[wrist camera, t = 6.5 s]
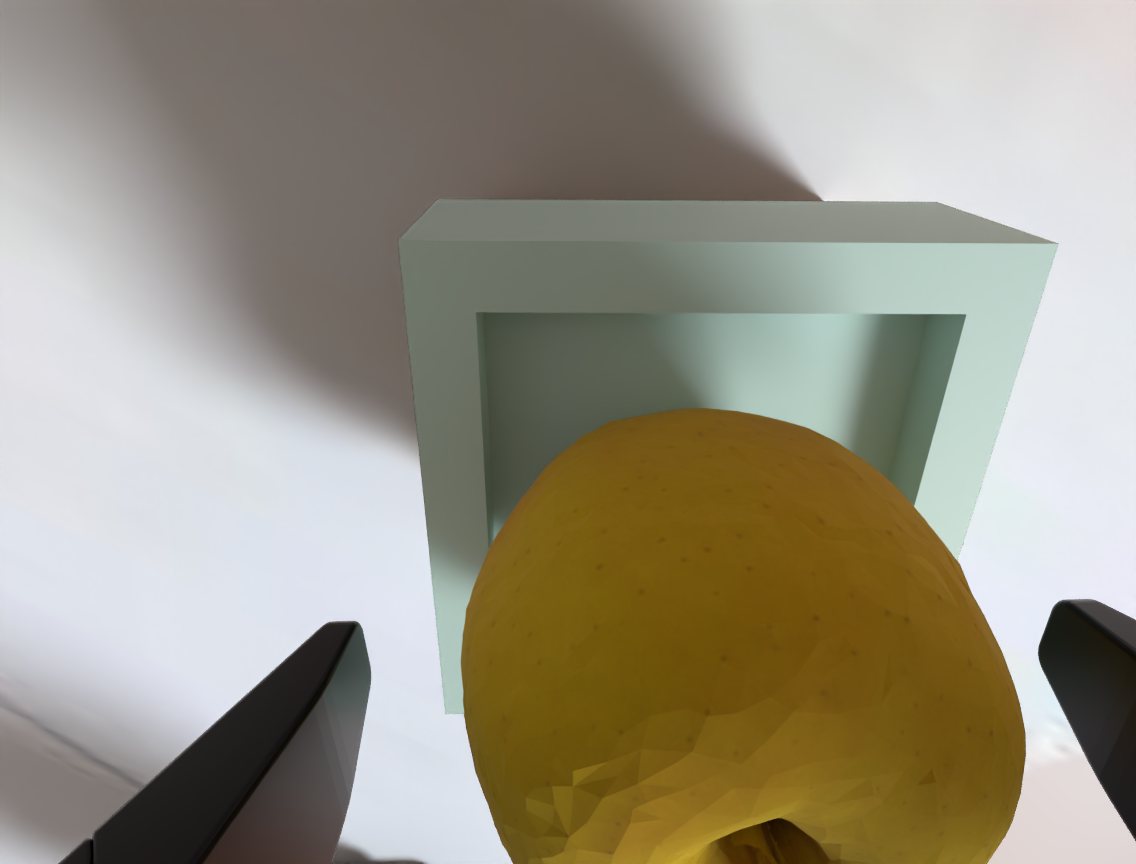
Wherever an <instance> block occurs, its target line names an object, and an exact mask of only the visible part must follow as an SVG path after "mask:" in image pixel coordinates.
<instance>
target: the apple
mask: <svg viewBox="0 0 1136 864" xmlns="http://www.w3.org/2000/svg"><path fill="white" fill-rule="evenodd" d="M462 636H463V641H462V650H461V662H460V663H461V674H462V684H463V706H464V717H465V723H466V729H467V734H468V739H469V743H470V748H471V752H472V757H473V762H474V767H475V771H476V774H477V777H478V780H479V782H480V785H481V788H482V790H483V793H484V796H485V798H486V801H487V803H488V805H489V809H490V812H491V815H492V818H493V821H494V825H495V827H496V829H497V831H498V834H499V837H500V839H501V842H502V845H503V846H504V847H505V849H506V850H507V852H508V854H509V856H510V858H511V860H512V862H513V864H987V863H988V861H989V860H990V858H991V857H992V855H993V854H994V852H995V851H996V849H997V848H998V846H999V845H1000V843H1001V842H1002V840H1003V839H1004V837H1005V836H1006V833H1007V831H1008V830H1009V828H1010V825H1011V823H1012V821H1013V817H1014V814H1015V811H1016V807H1017V804H1018V800H1019V797H1020V794H1021V787H1022V779H1023V772H1024V765H1025V757H1026V742H1025V728H1024V723H1023V718H1022V713H1021V708H1020V703H1019V699H1018V696H1017V693H1016V689H1015V686H1014V683H1013V680H1012V678H1011V675H1010V672H1009V670H1008V667H1007V664H1006V661H1005V659H1004V656H1003V653H1002V651H1001V649H1000V647H999V645H998V643H997V641H996V639H995V637H994V635H993V633H992V631H991V629H990V627H989V624H988V622H987V620H986V618H985V616H984V614H983V613H982V611H981V609H980V607H979V606H978V604H977V602H976V600H975V598H974V597H973V595H972V593H971V590H970V588H969V586H968V583H967V581H966V578H965V576H964V573H963V571H962V568H961V566H960V564H959V563H958V561H957V560H956V559H955V557H954V556H953V555H952V553H951V552H950V551H949V549H948V548H947V547H946V545H945V544H944V543H943V541H942V540H941V539H940V538H939V536H938V535H937V534H936V533H935V531H934V530H933V529H932V528H931V527H930V525H929V524H928V523H927V521H926V520H925V519H924V518H923V516H922V515H921V514H920V513H919V512H918V511H917V509H916V508H915V507H914V506H913V505H912V504H911V503H910V501H909V500H908V499H907V498H906V497H905V496H904V495H903V494H902V492H901V491H900V490H899V489H898V488H897V487H896V486H895V485H894V484H893V483H892V482H890V481H889V480H888V479H887V478H886V477H885V476H884V475H882V474H881V473H880V472H879V471H878V470H877V469H875V468H874V467H873V466H871V465H870V464H869V463H867V462H866V461H864V460H863V459H862V458H860V457H859V456H857V455H856V454H854V453H853V452H851V451H850V450H848V449H847V448H845V447H844V446H842V445H841V444H839V443H838V442H836V441H834V440H832V439H830V438H828V437H826V436H824V435H822V434H820V433H818V432H816V431H813V430H811V429H809V428H806V427H803V426H800V425H797V424H793V423H790V422H786V421H782V420H778V419H774V418H770V417H765V416H761V415H756V414H751V413H745V412H740V411H732V410H721V409H711V408H691V409H678V410H671V411H665V412H659V413H654V414H648V415H642V416H636V417H630V418H625V419H620V420H615V421H609V422H608V423H606V424H604V425H603V426H601V427H599V428H597V429H595V430H593V431H591V432H589V433H587V434H585V435H583V436H581V437H580V438H579V439H578V440H577V441H575V442H574V443H573V444H572V445H570V446H569V447H568V448H567V449H566V450H564V451H563V452H561V453H560V454H558V455H557V456H556V457H555V458H554V459H553V460H552V461H551V462H550V463H549V464H548V465H547V466H546V467H545V468H544V470H543V471H542V473H541V474H540V475H539V477H538V478H537V479H536V481H535V482H534V483H533V485H532V486H531V488H530V489H529V490H528V491H527V492H526V493H525V495H524V496H523V497H522V498H521V500H520V501H519V502H518V504H517V505H516V506H515V508H514V510H513V511H512V513H511V514H510V516H509V517H508V519H507V521H506V522H505V523H504V525H503V526H502V528H501V529H500V531H499V532H498V534H497V535H496V537H495V539H494V541H493V543H492V545H491V546H490V548H489V550H488V553H487V555H486V557H485V560H484V562H483V564H482V567H481V569H480V572H479V574H478V577H477V579H476V582H475V584H474V587H473V590H472V593H471V597H470V600H469V603H468V605H467V608H466V615H465V624H464V630H463V635H462Z"/></svg>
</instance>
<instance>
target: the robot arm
mask: <svg viewBox="0 0 1136 864" xmlns="http://www.w3.org/2000/svg"><path fill="white" fill-rule="evenodd" d="M1038 656H1039V661H1040V665H1041V667H1042V670H1043V672H1044V674H1045V676H1046V678H1047V680H1048V682H1049V684H1050V686H1051V688H1052V690H1053V692H1054V694H1055V696H1056V698H1057V700H1058V702H1059V704H1060V706H1061V708H1062V710H1063V712H1064V714H1065V716H1066V718H1067V720H1068V722H1069V724H1070V726H1071V728H1072V730H1073V732H1074V734H1075V736H1076V738H1077V740H1078V742H1079V744H1080V746H1081V748H1082V750H1083V752H1084V754H1085V756H1086V758H1087V760H1088V762H1089V764H1090V765H1091V767H1092V769H1093V771H1094V773H1095V775H1096V776H1097V778H1098V780H1099V782H1100V784H1101V785H1102V787H1103V789H1104V790H1105V792H1106V794H1107V796H1108V797H1109V799H1110V801H1111V802H1112V804H1113V805H1114V807H1115V809H1116V810H1117V812H1118V813H1119V815H1120V817H1121V818H1122V819H1123V821H1124V823H1125V824H1126V826H1127V828H1128V829H1129V831H1130V833H1131V834H1132V836H1133V838H1134V839H1135V841H1136V620H1135V619H1133V618H1131V617H1129V616H1127V615H1125V614H1123V613H1121V612H1119V611H1117V610H1115V609H1113V608H1111V607H1109V606H1107V605H1105V604H1103V603H1101V602H1098V601H1096V600H1091V599H1072V600H1062V601H1059V602H1058V603H1057V604H1055V605H1054V607H1053V609H1052V611H1051V614H1050V617H1049V619H1048V622H1047V625H1046V628H1045V630H1044V633H1043V636H1042V639H1041V641H1040V644H1039V648H1038ZM370 685H371V667H370V662H369V657H368V653H367V648H366V643H365V638H364V634H363V629H362V627H361V625H360V623H358V622H356V621H335V622H328V623H326V624H325V625H323V626H322V627H321V628H320V629H319V630H317V631H316V632H315V633H314V634H313V635H312V636H311V637H310V638H309V639H307V640H306V641H305V642H304V643H303V644H302V645H301V646H300V647H299V648H297V649H296V650H295V651H294V652H293V653H292V654H291V655H290V656H289V657H288V658H286V659H285V660H284V661H283V662H282V663H281V664H280V665H279V666H278V667H276V668H275V669H274V670H273V671H272V672H271V673H270V674H269V675H268V676H266V677H265V678H264V679H263V680H262V681H261V682H260V683H259V684H258V685H256V686H255V687H254V688H253V689H252V690H251V691H250V692H249V693H248V694H246V695H245V696H244V697H243V698H242V699H241V700H240V701H239V702H238V703H236V704H235V705H234V706H233V707H232V708H231V709H230V710H229V711H228V712H226V713H225V714H224V715H223V716H222V717H221V718H220V719H219V720H218V721H216V722H215V723H214V724H213V725H212V726H211V727H210V728H209V729H208V730H206V731H205V732H204V733H203V734H202V735H201V736H200V737H199V738H198V739H197V740H195V741H194V742H193V743H192V744H191V745H190V746H189V747H188V748H187V749H185V750H184V751H183V752H182V753H181V754H180V755H179V756H178V757H177V758H175V759H174V760H173V761H172V762H171V763H170V764H169V765H168V766H167V767H165V768H164V769H163V770H162V771H161V772H160V773H159V774H158V775H157V776H155V777H154V778H153V779H152V780H151V781H150V782H149V783H148V784H147V785H145V786H144V787H143V788H142V789H141V790H140V791H139V792H138V793H137V794H135V795H134V796H133V797H132V798H131V799H130V800H129V801H128V802H127V803H125V804H124V805H123V806H122V807H121V808H120V809H119V810H118V811H117V812H115V813H114V814H113V815H112V816H111V817H110V818H109V819H108V820H107V821H106V822H104V823H103V824H102V825H101V826H100V827H99V828H98V829H97V830H96V831H94V833H93V836H92V839H90V838H88V839H85V840H84V841H83V842H82V843H81V844H80V845H79V846H77V847H76V848H75V849H74V850H73V851H72V852H71V853H70V854H69V855H67V856H66V857H65V858H64V859H63V860H62V861H61V862H60V863H59V864H332V862H333V858H334V855H335V852H336V848H337V845H338V841H339V838H340V835H341V831H342V828H343V824H344V821H345V817H346V813H347V809H348V806H349V802H350V797H351V792H352V787H353V782H354V776H355V771H356V765H357V759H358V754H359V748H360V742H361V737H362V731H363V725H364V720H365V714H366V708H367V703H368V697H369V691H370Z"/></svg>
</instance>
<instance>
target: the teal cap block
mask: <svg viewBox="0 0 1136 864" xmlns="http://www.w3.org/2000/svg"><path fill="white" fill-rule="evenodd" d="M398 247H399V257H400V267H401V277H402V287H403V297H404V307H405V317H406V327H407V337H408V347H409V357H410V366H411V376H412V386H413V396H414V406H415V416H416V426H417V436H418V446H419V456H420V466H421V476H422V486H423V496H424V506H425V516H426V526H427V536H428V545H429V555H430V565H431V575H432V585H433V595H434V605H435V615H436V625H437V635H438V645H439V655H440V665H441V675H442V685H443V695H444V705H445V714H464V706H463V684H462V674H461V663H460V662H461V650H462V641H463V636H462V635H463V630H464V624H465V615H466V608H467V605H468V603H469V600H470V597H471V593H472V590H473V587H474V584H475V582H476V579H477V577H478V574H479V572H480V569H481V567H482V564H483V562H484V560H485V557H486V555H487V553H488V550H489V548H490V546H491V545H492V543H493V541H494V539H495V537H496V535H497V534H498V532H499V531H500V529H501V528H502V526H503V525H504V523H505V522H506V521H507V519H508V517H509V516H510V514H511V513H512V511H513V510H514V508H515V506H516V505H517V504H518V502H519V501H520V500H521V498H522V497H523V496H524V495H525V493H526V492H527V491H528V490H529V489H530V488H531V486H532V485H533V483H534V482H535V481H536V479H537V478H538V477H539V475H540V474H541V473H542V471H543V470H544V468H545V467H546V466H547V465H548V464H549V463H550V462H551V461H552V460H553V459H554V458H555V457H556V456H557V455H558V454H560V453H561V452H563V451H564V450H566V449H567V448H568V447H569V446H570V445H572V444H573V443H574V442H575V441H577V440H578V439H579V438H580V437H581V436H583V435H585V434H587V433H589V432H591V431H593V430H595V429H597V428H599V427H601V426H603V425H604V424H606V423H608V422H609V421H615V420H620V419H625V418H630V417H636V416H642V415H648V414H654V413H659V412H665V411H671V410H678V409H691V408H711V409H721V410H732V411H740V412H745V413H751V414H756V415H761V416H765V417H770V418H774V419H778V420H782V421H786V422H790V423H793V424H797V425H800V426H803V427H806V428H809V429H811V430H813V431H816V432H818V433H820V434H822V435H824V436H826V437H828V438H830V439H832V440H834V441H836V442H838V443H839V444H841V445H842V446H844V447H845V448H847V449H848V450H850V451H851V452H853V453H854V454H856V455H857V456H859V457H860V458H862V459H863V460H864V461H866V462H867V463H869V464H870V465H871V466H873V467H874V468H875V469H877V470H878V471H879V472H880V473H881V474H882V475H884V476H885V477H886V478H887V479H888V480H889V481H890V482H892V483H893V484H894V485H895V486H896V487H897V488H898V489H899V490H900V491H901V492H902V494H903V495H904V496H905V497H906V498H907V499H908V500H909V501H910V503H911V504H912V505H913V506H914V507H915V508H916V509H917V511H918V512H919V513H920V514H921V515H922V516H923V518H924V519H925V520H926V521H927V523H928V524H929V525H930V527H931V528H932V529H933V530H934V531H935V533H936V534H937V535H938V536H939V538H940V539H941V540H942V541H943V543H944V544H945V545H946V547H947V548H948V549H949V551H950V552H951V553H952V555H953V556H954V557H955V559H956V560H957V561H958V558H959V554H960V551H961V548H962V545H963V542H964V539H965V536H966V533H967V529H968V526H969V523H970V520H971V517H972V514H973V511H974V507H975V504H976V501H977V498H978V495H979V492H980V489H981V485H982V482H983V479H984V476H985V473H986V470H987V467H988V464H989V460H990V457H991V454H992V451H993V448H994V445H995V442H996V438H997V435H998V432H999V429H1000V426H1001V423H1002V420H1003V417H1004V413H1005V410H1006V407H1007V404H1008V401H1009V398H1010V395H1011V391H1012V388H1013V385H1014V382H1015V379H1016V376H1017V373H1018V369H1019V366H1020V363H1021V360H1022V357H1023V354H1024V351H1025V348H1026V344H1027V341H1028V338H1029V335H1030V332H1031V329H1032V326H1033V322H1034V319H1035V316H1036V313H1037V310H1038V307H1039V304H1040V300H1041V297H1042V294H1043V291H1044V288H1045V285H1046V282H1047V279H1048V275H1049V272H1050V269H1051V266H1052V263H1053V260H1054V257H1055V253H1056V250H1057V247H1058V243H1055V242H1052V241H1049V240H1046V239H1043V238H1040V237H1037V236H1034V235H1032V234H1029V233H1026V232H1023V231H1020V230H1017V229H1014V228H1011V227H1008V226H1005V225H1002V224H999V223H997V222H994V221H991V220H988V219H985V218H982V217H979V216H976V215H973V214H970V213H967V212H964V211H961V210H959V209H956V208H953V207H950V206H947V205H944V204H941V203H938V202H859V201H689V200H519V199H437V200H436V201H435V202H434V203H433V204H432V205H431V206H430V207H429V208H428V210H427V211H426V212H425V213H424V214H423V215H422V216H421V217H420V218H419V219H418V220H417V221H416V222H415V223H414V224H413V225H412V226H411V227H410V228H409V229H408V230H407V231H406V232H405V233H404V234H403V236H402V237H401V238H400V239H399V240H398Z"/></svg>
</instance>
